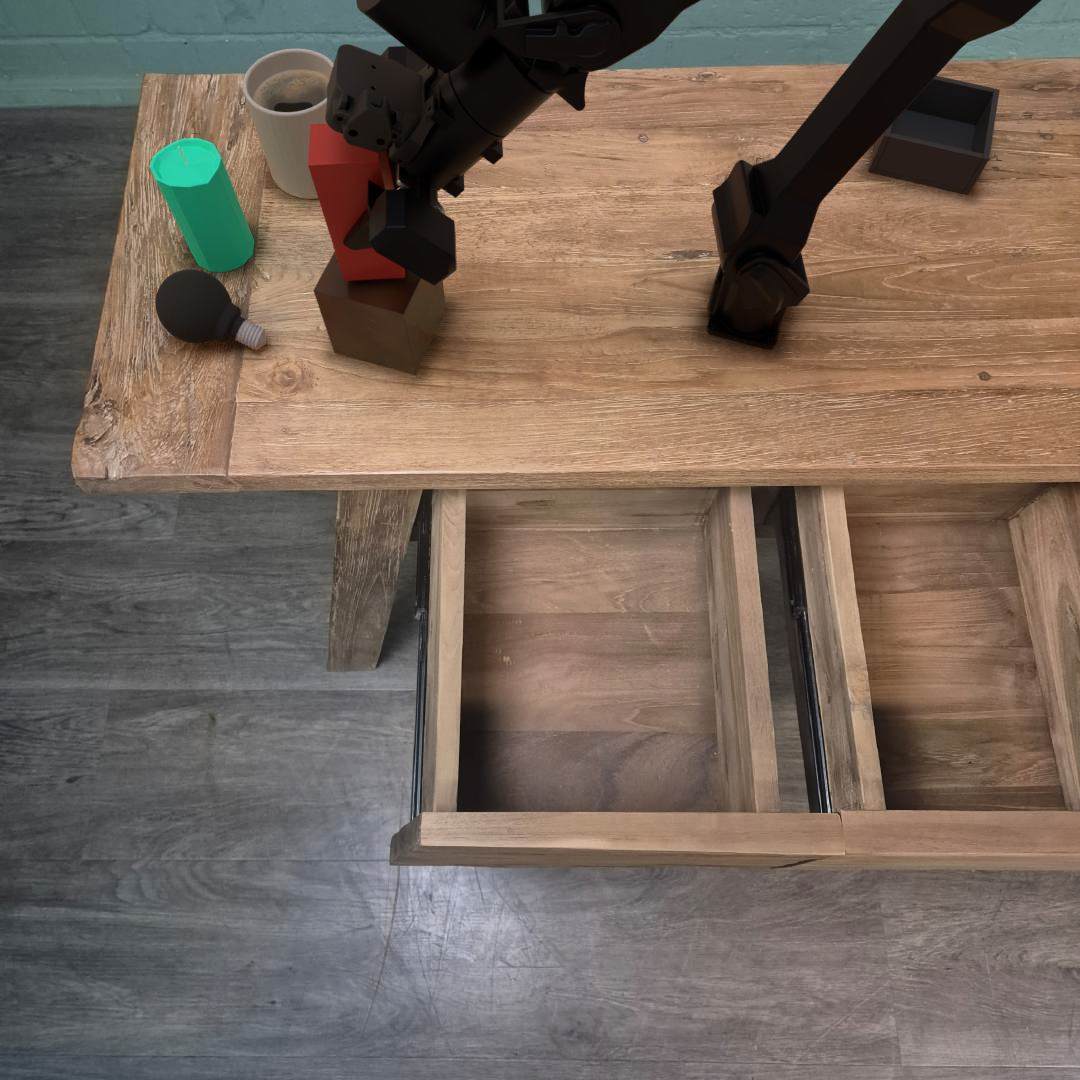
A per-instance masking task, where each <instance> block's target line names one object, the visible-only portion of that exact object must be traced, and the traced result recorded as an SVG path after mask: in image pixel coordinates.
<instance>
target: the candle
mask: <svg viewBox="0 0 1080 1080" xmlns="http://www.w3.org/2000/svg"><path fill="white" fill-rule="evenodd" d="M149 169H150V171H151V173H152V175H153V177H154V179H155V182H156V183H157V186H158V187H159V190H160V192H161V194H162V195H163V198H164V200H165V201H166V204H167V206H168V208H169V210H170V212H171V214H172V216H173V218H174V220H175V222H176V224H177V226H178V228H179V230H180V233H181V234H182V236H183V238H184V240H185V242H186V244H187V246H188V248H189V251H190V252H191V255H192V256H193V259H194V260H195V261H196V263H197V265H198V266H199V267H200V268H203V269H204V270H207V271H209V272H211V273H229V272H232V271H233V270H236V269H239V268H240V267H243V266H244V265H245V264H246V263H247V262H249V259H251V258H252V256H253V255H254V251H255V242H256V241H255V239H254V237H253V234H252V231H251V228H250V226H249V224H248V221H247V218H246V217H245V216H246V215H245V213H244V211H243V209H242V206H241V204H240V201H239V198H238V196H237V194H236V191H235V189H234V188H235V187H234V186H233V184H232V181H231V178H230V176H229V173H228V171H227V168H226V165H225V162H224V161H223V158H222V156H221V155H220V152H219V151H218V149H217V147H216V145H215V144H214V143H213V142H210V141H208V140H205V139H204V138H200V137H196V138H195V137H193V138H192V137H190V138H189V137H187V138H186V137H185V138H181V139H180V138H179V139H178V140H175V141H174V142H172V143H169V144H167V145H165V146H164V147H162V148H161V149H160V150H159V151H158V152H157V153H155V154H154V155H153V157H152V158H151V162H150V164H149Z"/></svg>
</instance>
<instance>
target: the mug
mask: <svg viewBox="0 0 1080 1080" xmlns="http://www.w3.org/2000/svg"><path fill="white" fill-rule="evenodd" d="M333 65H334V62H333V61H332V60H331V58H329V57H327V56H326V55H324V54H323V53H321V52H318V51H315V50H311V49H307V48H286V49H280V50H276V51H273V52H270V53H268V54H265V55H264V56H262V57H260V58H259V59H257V60H255V62H254V63H252V65H250V67H249V68H248V69H247V71H246V73H245V75H244V77H243V81H242V90H243V96H244V98H245V100H246V104H247V107H248V110H249V112H250V117H251V118H252V122H253V125H254V127H255V130H256V133H257V136H258V140H259V142H260V144H261V145H260V146H261V148H262V151H263V154H264V158H265V160H266V163H267V166H268V169H269V172H270V175H271V178H272V181H273V182H274V183H275V184H276V186H277V187H278V188H279V189H280V190H281V191H283V192H284V193H286V194H288V195H290V196H293V197H296V198H299V199H305V200H314V199H318V196H317V192H316V189H315V186H314V183H313V180H312V177H311V173H310V170H309V167H308V156H309V140H310V125H311V124H327V122H326V120H325V114H326V106H327V86H328V82H329V79H330V75H331V72H332V68H333Z"/></svg>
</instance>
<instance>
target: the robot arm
mask: <svg viewBox="0 0 1080 1080" xmlns="http://www.w3.org/2000/svg"><path fill="white" fill-rule="evenodd" d="M701 1H702V0H540V10H541V14H534V15H530V2H529V0H355V2H356V7H357V9H358V10H359V12H361V13H362V14H363V15H365V16H366V17H367V18H368V19H370V20H371V21H372V22H374V23H375V24H376V25H377V26H379V28H381V29H382V30H383V31H385V32H386V33H388V34H389V35H390V36H391V37H393V39H395V40H396V41H398V42H399V43H400V44H401V45H396V46H394V45H393V46H391V45H390V46H388V47H387V48H386V49H385V50H384V51H383V52H382V53H381V54H378V53H376V52H372V51H369V50H367V49H364V48H362V47H359V46H356V45H354V44H353V45H352V44H346V43H345V44H341V45H340V46H339V47H338V49H337V51H336V55H335V58H334V62H333V63H334V65H333V68H332V72H331V75H330V79H329V82H328V86H327V106H326V114H325V120H326V122H327V124H328V125H329V127H330V128H332V129H333V130H334V131H336V132H338V133H341V134H343V137H344V139H345V140H346V142H347V143H348V144H350V145H354V146H357V147H360V148H363V149H366V150H369V151H373V152H376V153H381V152H383V151H386V152H387V156H388V161H389V166H390V171H391V175H392V180H393V185H394V189H388V190H385V189H383V188H382V187H380V186H379V185H377V184H375V183H374V182H372V181H371V180H368V192H367V209H366V210H365V211H364V213H363V214H362V215H361V216H360V218H359V219H358V220H357V221H356V223H355V224H354V225H353V227H352V228H351V229H350V231H349V232H348V234H347V235H346V237H345V238H344V240H343V245H344V246H346V247H348V248H350V249H351V250H362V249H368V248H373V249H374V250H375V252H376V253H378V254H380V255H382V256H383V257H385V258H387V259H389V260H390V261H392V262H394V263H396V264H397V265H399V266H401V267H402V268H404V269H406V270H408V271H409V272H411V273H413V274H415V275H416V276H418V277H420V278H422V279H423V280H425V281H427V282H429V283H430V284H432V285H434V286H435V285H437V284H439V283H441V282H442V281H443V282H444V281H445V280H446V279H448V278H449V277H450V276H451V275H452V274H454V273H455V272H456V271H457V270H458V263H457V233H456V232H457V231H456V223H455V220H454V219H453V218H451V217H449V216H448V215H447V214H446V210H445V208H444V206H443V205H442V204H441V202H440V201H439V191H441V190H442V191H444V192H445V193H447V194H449V195H450V196H452V197H453V198H455V199H456V198H458V197H459V196H460V195H461V194H462V193H463V192H465V174H466V173H467V172H468V171H470V169H472V168H473V167H474V166H475V165H476V164H478V162H479V161H481V160H482V159H485V160H486V161H487V162H489V163H490V164H491V165H493V166H494V165H496V163H498V162H499V161H500V160H501V159H502V158H503V157H504V147H503V146H504V145H503V140H504V139H505V138H507V136H509V135H510V134H511V133H512V132H514V131H515V129H516V128H518V126H520V125H521V124H522V123H524V121H525V120H527V119H528V118H529V117H530V116H531V115H532V114H534V113H535V112H536V111H537V110H538V109H539V108H540V107H541V106H542V105H543V104H545V103H546V102H548V100H549V99H550V98H551V97H552V96H554V94H556V95H557V96H559V97H560V98H561V99H562V100H563V101H565V103H567V104H568V105H569V106H570V107H572V109H574V110H575V111H577V112H581V111H583V110H585V108H586V84H587V81H588V77H589V73H593V72H598V71H602V70H606V69H608V68H610V67H612V66H614V65H616V64H618V63H619V62H621V61H623V60H624V59H626V58H628V57H630V56H632V55H633V54H635V53H637V52H638V51H640V50H642V49H644V48H646V47H647V46H648V45H650V44H653V43H654V42H655V41H656V40H657V39H658V38H659V37H660V36H661V35H662V34H663V33H664V32H665V31H666V30H667V29H668V28H669V26H670V25H671V24H672V23H673V22H674V21H675V20H676V19H677V18H678V17H679V15H681V14H682V13H683V12H685V10H687V9H689V8H690V7H692V6H694V5H696V4H698V3H699V2H701ZM1042 1H1043V0H901V1H899V3H898V4H897V6H896V7H895V8H894V9H893V11H892V12H891V13H890V15H888V17H887V18H886V19H885V21H884V22H883V23H882V25H881V26H880V27H879V28H878V29H877V30H876V32H875V33H874V34H873V36H872V37H871V38H870V39H869V40H868V42H867V43H866V44H865V46H864V47H863V48H862V50H860V52H859V53H858V54H857V56H856V57H855V58H854V59H853V60H852V62H851V63H850V64H849V65H848V66H847V68H846V69H845V70H844V72H843V73H842V74H841V75H840V77H838V79H837V80H836V81H835V83H834V84H833V85H832V87H830V89H829V90H828V91H827V93H826V94H825V95H824V97H822V99H821V100H820V101H819V103H817V105H816V106H815V107H814V109H813V110H812V111H811V112H810V114H809V115H808V116H807V118H806V119H805V120H804V121H803V123H801V125H800V126H799V128H797V130H796V131H795V132H794V134H793V135H792V136H791V137H790V138H789V140H788V141H787V142H786V144H785V145H784V146H783V147H782V149H781V150H780V151H779V152H778V153H777V154H776V156H774V157H773V158H769V159H766V160H763V161H760V162H757V163H755V164H751V163H750V162H747V161H746V160H744V159H739V160H737V162H736V163H734V165H733V167H732V169H731V171H730V173H729V175H728V176H727V178H726V179H725V180H724V181H722V183H721V184H720V185H718V186H717V187H716V188H714V189H713V190H712V192H711V193H712V199H713V202H712V204H711V207H710V208H711V209H710V211H711V219H712V225H713V231H714V236H715V241H716V247H717V252H718V258H719V266H718V269H717V273H716V276H715V279H714V282H713V285H712V289H711V294H710V296H709V300H708V304H707V307H706V310H707V312H708V313H710V315H709V319H708V322H707V326H706V331H707V333H709V334H711V335H715V336H719V337H721V338H726V339H730V340H733V341H737V342H741V343H745V344H748V345H751V346H752V345H753V346H757V347H760V348H764V349H769V350H773V349H775V348H776V346H777V343H778V340H779V336H780V332H781V327H782V324H783V321H784V318H785V316H786V314H787V311H788V308H791V307H793V308H794V307H798V306H799V305H800V304H801V303H802V302H803V300H805V298H806V297H807V296H808V295H809V294H810V293H811V287H810V283H809V280H808V276H807V271H806V267H805V262H804V257H803V253H802V251H803V250H804V248H805V246H806V245H807V242H808V240H809V237H810V234H811V231H812V228H813V225H814V223H815V219H816V216H817V213H818V210H819V208H820V206H821V204H822V202H823V201H824V199H825V198H826V197H827V196H828V195H829V194H830V193H831V192H832V191H833V189H834V188H835V187H836V186H837V185H838V184H839V183H840V182H841V181H842V179H844V177H845V176H846V175H847V174H848V173H849V172H850V171H851V170H852V169H853V168H854V166H855V165H856V164H857V163H858V162H859V161H860V160H861V159H862V158H863V157H864V155H866V153H867V152H868V151H869V150H870V149H871V148H872V147H873V146H874V144H875V142H876V141H877V140H878V139H879V138H880V137H881V136H882V134H883V133H884V132H885V131H886V130H887V129H888V128H889V127H890V126H891V125H892V123H893V122H894V121H895V120H896V119H897V118H898V117H899V116H900V115H901V114H902V113H903V111H904V110H905V109H906V108H907V107H908V106H909V105H910V104H911V103H912V102H913V100H914V99H915V98H916V97H917V96H918V95H919V94H920V93H921V92H922V91H923V90H924V88H925V87H926V86H927V85H928V84H929V83H930V82H931V81H932V80H933V79H934V77H935V76H938V75H939V74H940V72H941V71H942V70H943V69H944V68H945V67H946V66H947V64H948V63H949V62H950V61H951V60H952V59H953V58H954V57H955V56H956V55H957V54H958V52H959V51H960V50H962V48H964V46H966V45H967V44H968V43H971V42H973V41H975V40H978V39H981V38H983V37H986V36H989V35H991V34H993V33H996V32H998V31H1001V30H1004V29H1007V28H1008V27H1011V26H1013V25H1015V24H1016V23H1018V21H1020V20H1021V19H1022V18H1023V17H1024V16H1026V15H1027V14H1028V13H1029V12H1031V10H1032V9H1034V8H1035V7H1036V6H1037V5H1039V3H1041V2H1042Z"/></svg>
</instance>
